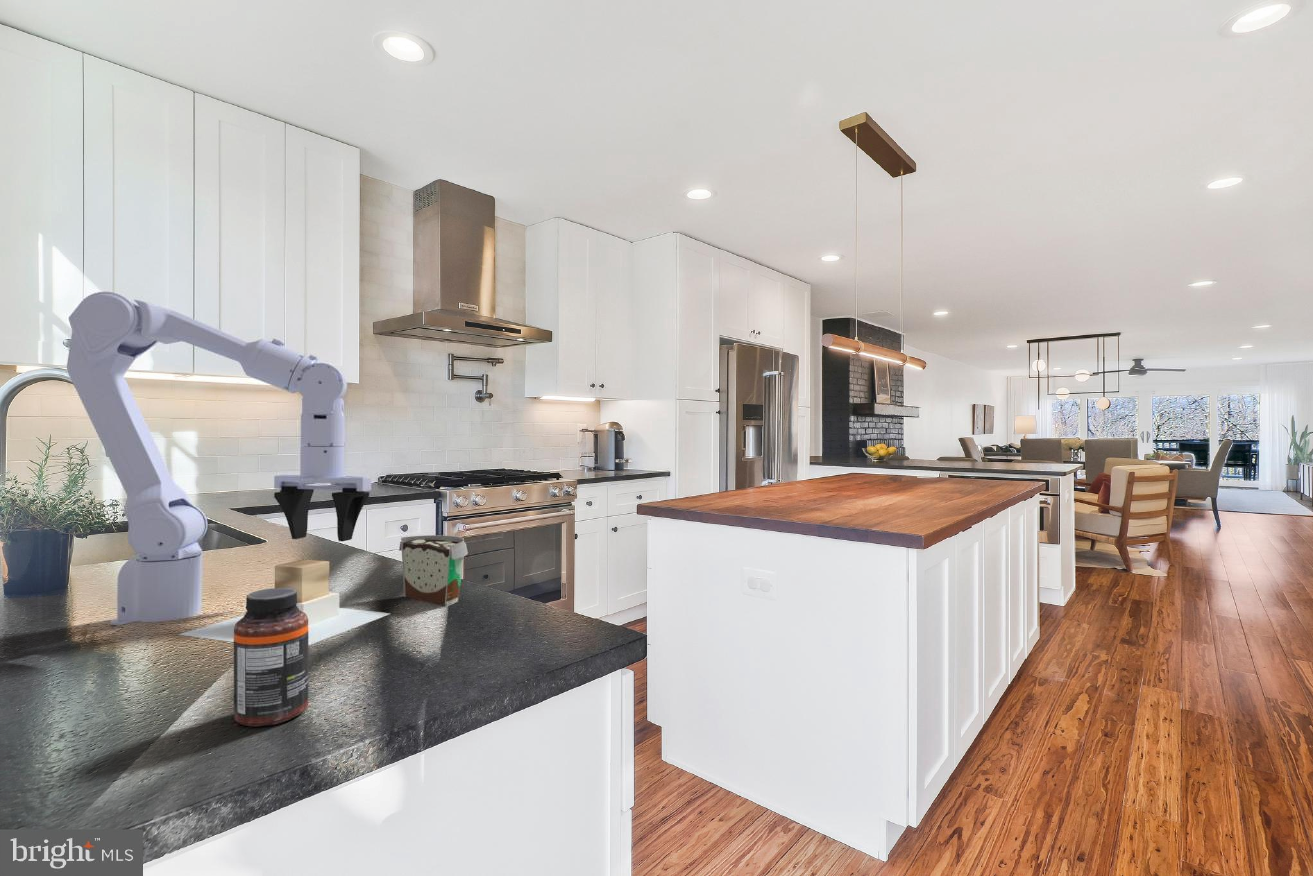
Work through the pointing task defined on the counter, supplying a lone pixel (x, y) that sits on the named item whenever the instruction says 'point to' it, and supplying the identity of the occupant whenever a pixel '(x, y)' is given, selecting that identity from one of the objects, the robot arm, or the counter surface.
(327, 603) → the base block
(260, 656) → the supplement bottle
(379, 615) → the white flat panel
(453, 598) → the food container
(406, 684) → the counter surface
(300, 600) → the maple block
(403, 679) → the counter surface
